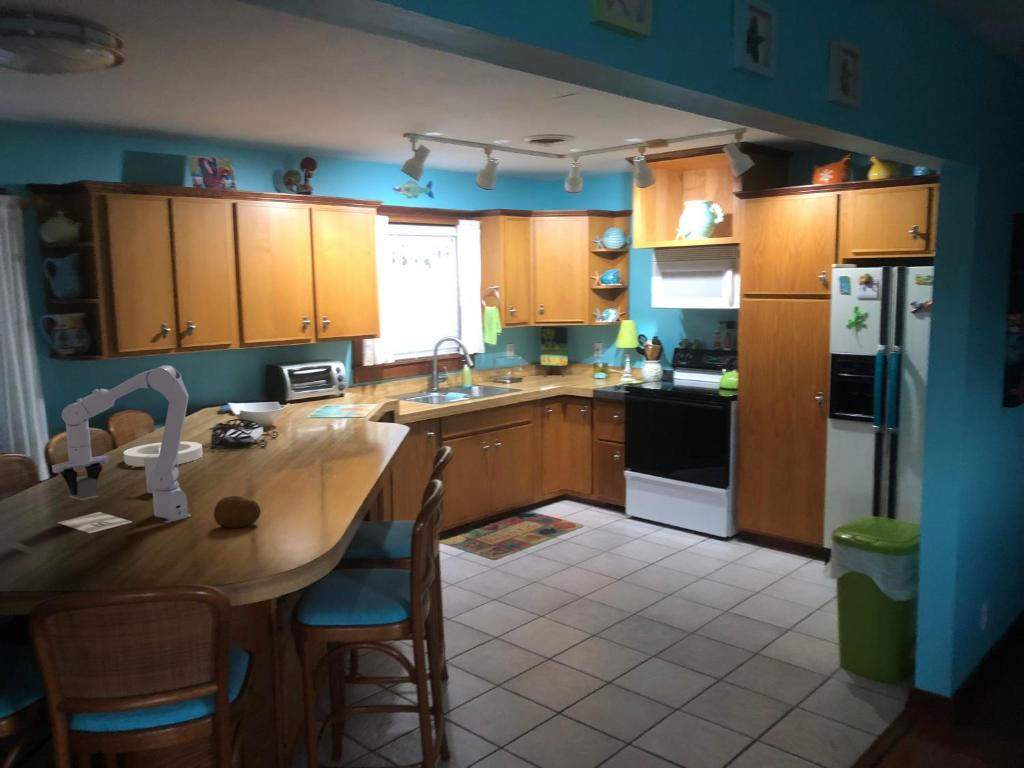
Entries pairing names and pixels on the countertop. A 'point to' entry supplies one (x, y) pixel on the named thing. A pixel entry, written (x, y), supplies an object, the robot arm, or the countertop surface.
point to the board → (94, 522)
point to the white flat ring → (137, 454)
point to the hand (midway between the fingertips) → (83, 492)
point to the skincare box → (150, 469)
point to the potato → (236, 512)
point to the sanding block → (85, 488)
